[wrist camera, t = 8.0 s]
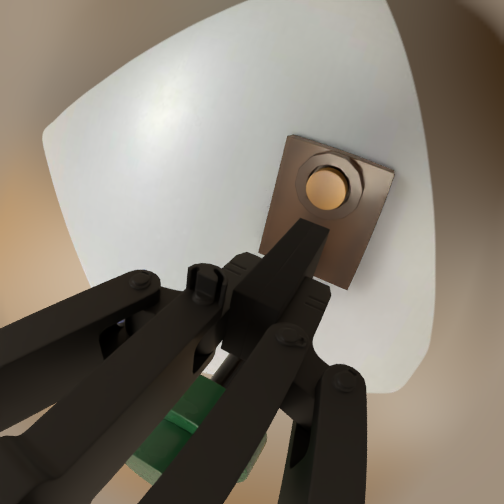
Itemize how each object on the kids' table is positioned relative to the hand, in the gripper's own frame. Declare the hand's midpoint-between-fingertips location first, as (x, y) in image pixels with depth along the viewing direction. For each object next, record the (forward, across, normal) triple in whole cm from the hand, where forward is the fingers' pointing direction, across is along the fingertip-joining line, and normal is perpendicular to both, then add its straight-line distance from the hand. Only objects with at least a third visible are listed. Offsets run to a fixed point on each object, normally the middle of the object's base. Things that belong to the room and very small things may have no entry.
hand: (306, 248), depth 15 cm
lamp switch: (+18, -2, -2) cm, 18 cm away
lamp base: (+21, -2, -6) cm, 22 cm away
